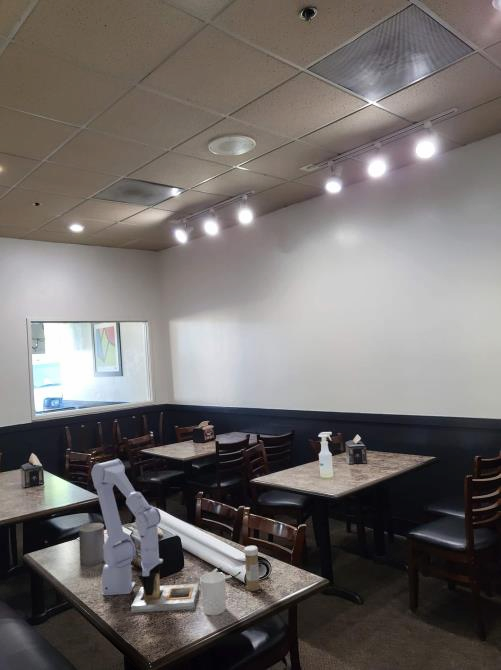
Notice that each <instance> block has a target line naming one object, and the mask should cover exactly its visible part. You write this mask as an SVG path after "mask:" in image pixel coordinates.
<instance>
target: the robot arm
mask: <svg viewBox="0 0 501 670" xmlns="http://www.w3.org/2000/svg"><path fill="white" fill-rule="evenodd" d="M125 470H126V468H125V465H124V464H123V462H122V460H120V459H119V458H115V459H112V460H108V461H105V462H100V463H95V464H94V465H93V467H92V469H91V472H90V474H91V478H92V482H93V485H94V486H93V487H94V489H95V490H96V493H97V496H98V501H99V505H100V510H101V513H102V518H103V521H104V527H105V529H106V533H107V537H108V538H106V541H105V543H104V545H103V550H104V561H103V562H104V563H105V564H104V565H103V568H102V575H101V579H102V594H101V595H102V596H111V595H113V596H114V595H115V596H116V595H129V594H131V593H132V591H133V589H134V588H135V585H136V582H135V581H133V577H132V576H133V575H132V562H133V561H134V560H133V558H134V557H135V556H136V551H137V550H136V546H135V543H134V542H133V540H132V536H131V535H130V534H128V533H126V532H124V529H123V525H122V520H121V518H120V514H119V510H118V505H117V502H116V498H115V494H114V490H113V487H115V486H116V487H117V488H118V490H119V491H120V493H121V494H123V496H124V497H125V498H126V500H125V505H126V506H127V507H128V509H129V510H130V511H131V513H132V514H133V516H134V517H135V520H134V522H135V526H136V527H137V530H138V531H137V533H138V535H139V539H140V557H141V558H140V560H141V561H140V566H141V569H142V571H141V572H139V573H138V575H137V576H138V577H137V578H138V579H139V580H140V583H141V585H142V587H144V591H145V594H146V596H149V595H153V590H154V580H155V576H156V574H157V573H159V574H160V569H161V566H162V564H163V562H164V559H163V558H160V553H159V552H160V551H159V550H160V549H159V535H158V534H159V532H158V525H159V524H160V523H161V519H162V518H161V513H160V511H159V509H158V508H157V507H155V506H153V505H152V504H151V505H150V504H149V503H148V501H147V500H146V498H145V497H144V495H143V494H142V492H140V491H136V490H135V488H134V487H133V486H132V484H131V482H130V481H129V478H128V476H127V475H126V473H125V472H126V471H125Z"/></svg>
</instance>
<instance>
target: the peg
mask: <svg viewBox="0 0 501 670" xmlns="http://www.w3.org/2000/svg"><path fill="white" fill-rule="evenodd" d="M160 584H161V583H160V572H159V573H157V574H156V576H155V580H154V590H153V595H149V596H146V594H145V591H144V587H143V586H142V587H143V592H144V600H158V599H160V598H161V596H160V586H161V585H160Z"/></svg>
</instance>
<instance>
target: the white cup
mask: <svg viewBox="0 0 501 670" xmlns="http://www.w3.org/2000/svg"><path fill="white" fill-rule="evenodd" d="M225 575H226V574H225V573H223V572H220V571H217V572H212V571H210V572H209V571H208V572H205V573H204V574H202V575H201V576H200V577H199V580H200V583H201V585H200V593H201V601H202V607H203V612H204V614H205V615H208V616H219V615H221V614H223V613H225V611H226V600H227V599H226V598H227V596H226V591H227V590H226V585H227V584H226V579H225Z"/></svg>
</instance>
